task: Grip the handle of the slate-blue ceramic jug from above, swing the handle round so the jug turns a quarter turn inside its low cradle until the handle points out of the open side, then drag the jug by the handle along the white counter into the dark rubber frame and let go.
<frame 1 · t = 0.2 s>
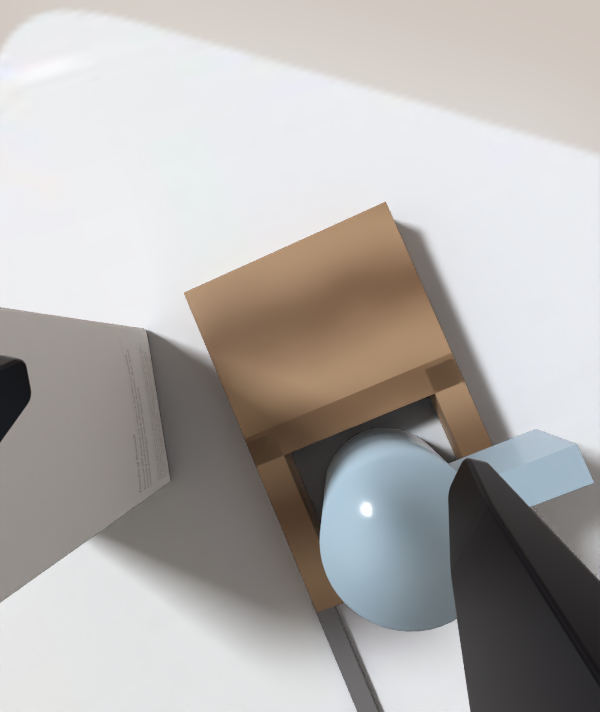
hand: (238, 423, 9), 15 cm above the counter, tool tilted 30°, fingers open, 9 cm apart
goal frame: (454, 648, 23), on the counter
supplement box: (87, 414, 25), on the counter
jug: (438, 494, 20), in the cradle
cradle: (386, 488, 23), on the counter
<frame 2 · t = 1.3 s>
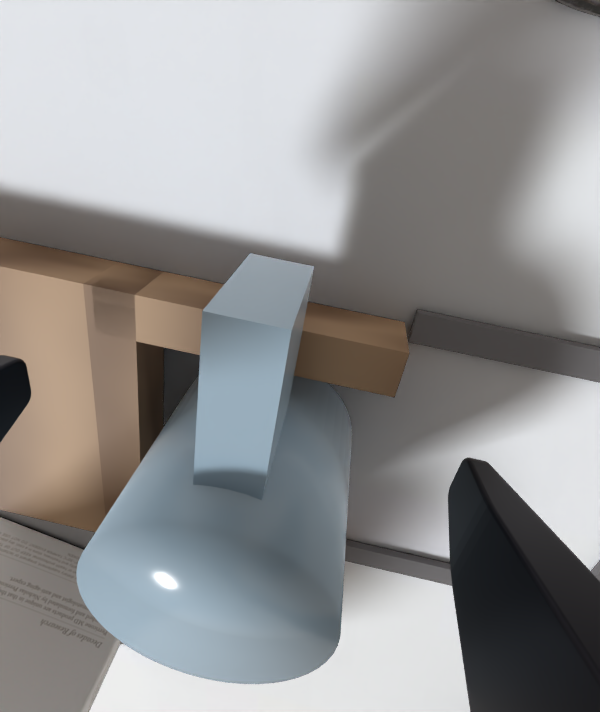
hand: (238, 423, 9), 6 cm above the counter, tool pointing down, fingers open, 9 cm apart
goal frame: (502, 483, 16), on the counter
supplement box: (60, 580, 24), on the counter
jug: (249, 450, 13), in the cradle
cradle: (265, 430, 17), on the counter
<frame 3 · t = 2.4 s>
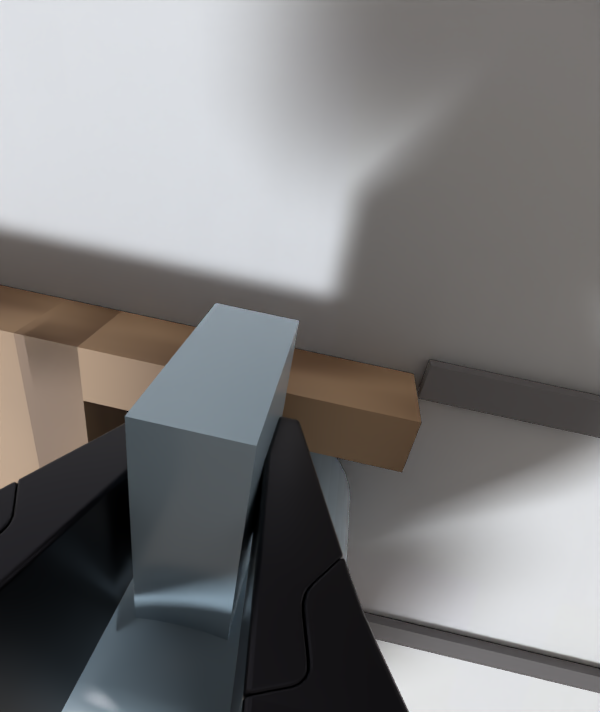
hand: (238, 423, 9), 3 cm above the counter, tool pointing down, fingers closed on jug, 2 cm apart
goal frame: (528, 554, 14), on the counter
jug: (221, 540, 10), in the cradle, touching gripper
cradle: (248, 490, 14), on the counter
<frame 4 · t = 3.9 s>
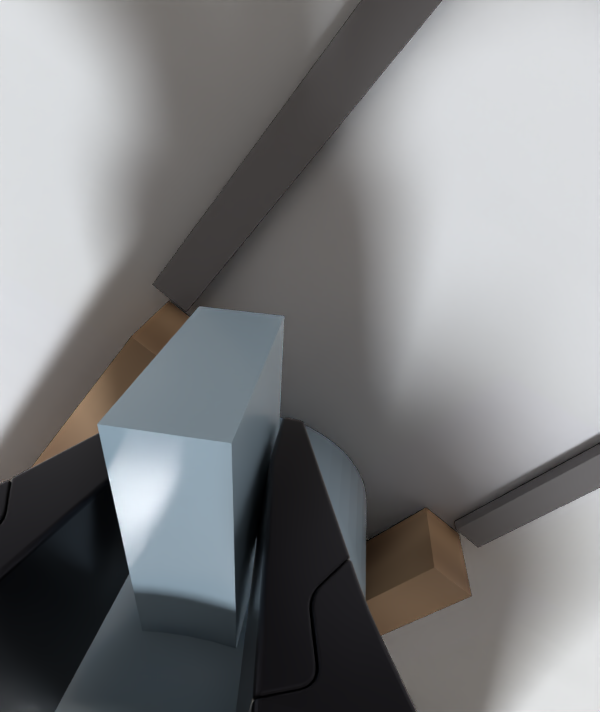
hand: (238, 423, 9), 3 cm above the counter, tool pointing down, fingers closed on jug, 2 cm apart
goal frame: (488, 305, 10), on the counter
jug: (231, 547, 10), resting in cradle, touching gripper
cradle: (248, 492, 14), on the counter
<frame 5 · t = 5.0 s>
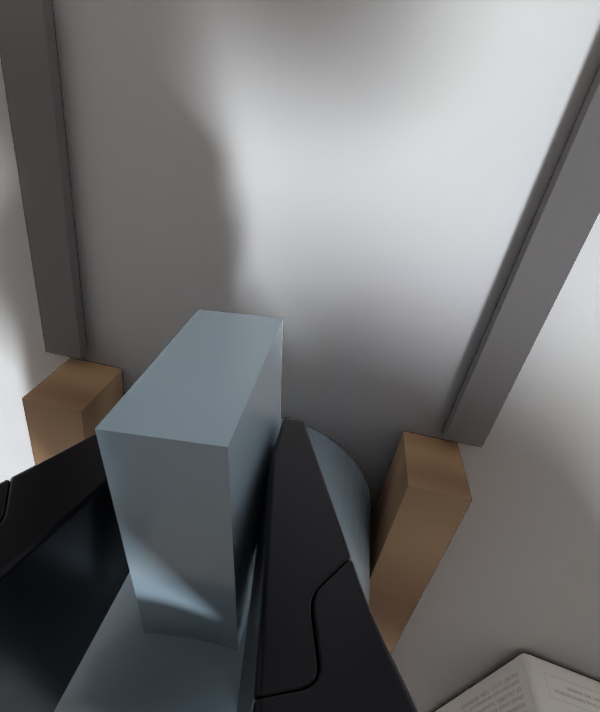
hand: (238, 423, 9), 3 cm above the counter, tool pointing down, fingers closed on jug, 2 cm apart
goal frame: (288, 206, 9), on the counter
jug: (234, 549, 10), in the cradle, touching gripper
cradle: (247, 493, 14), on the counter
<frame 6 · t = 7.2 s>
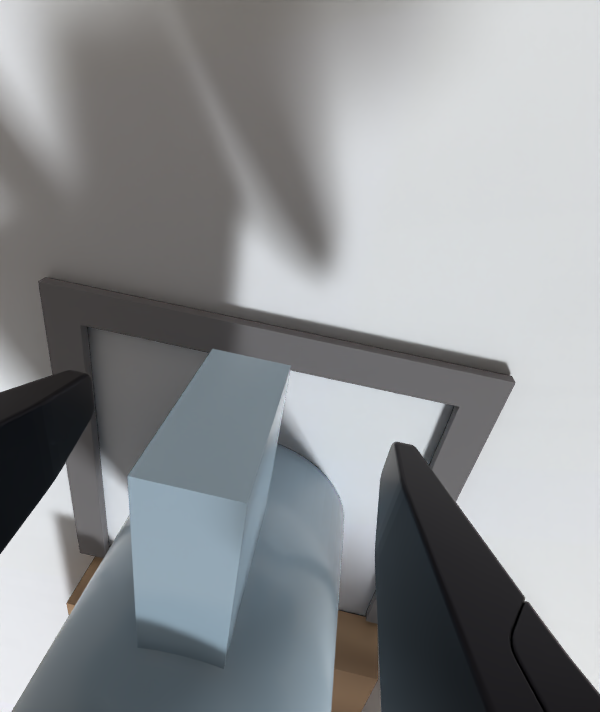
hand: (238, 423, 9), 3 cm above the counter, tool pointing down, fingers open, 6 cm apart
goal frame: (249, 490, 14), on the counter
jug: (218, 566, 11), resting in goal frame
cradle: (228, 637, 19), on the counter
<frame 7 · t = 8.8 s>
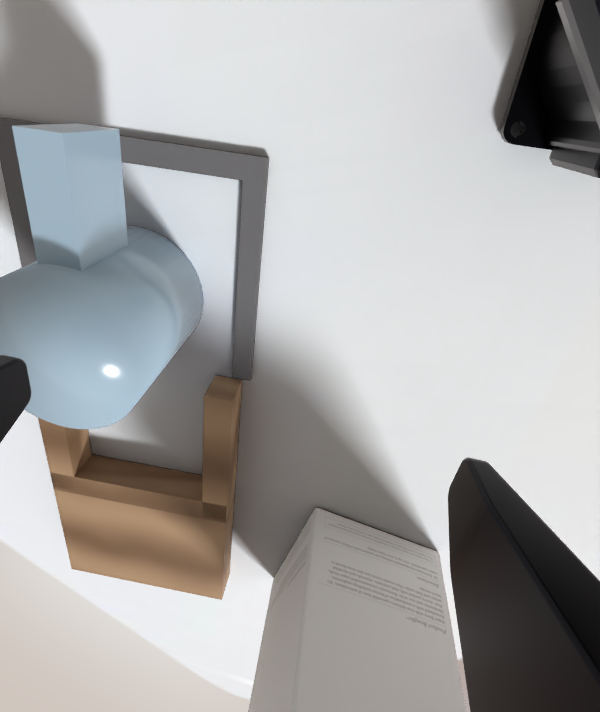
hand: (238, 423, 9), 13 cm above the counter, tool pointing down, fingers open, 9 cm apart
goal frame: (139, 271, 22), on the counter
supplement box: (351, 563, 30), on the counter
jug: (99, 273, 18), resting in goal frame
cradle: (148, 416, 26), on the counter
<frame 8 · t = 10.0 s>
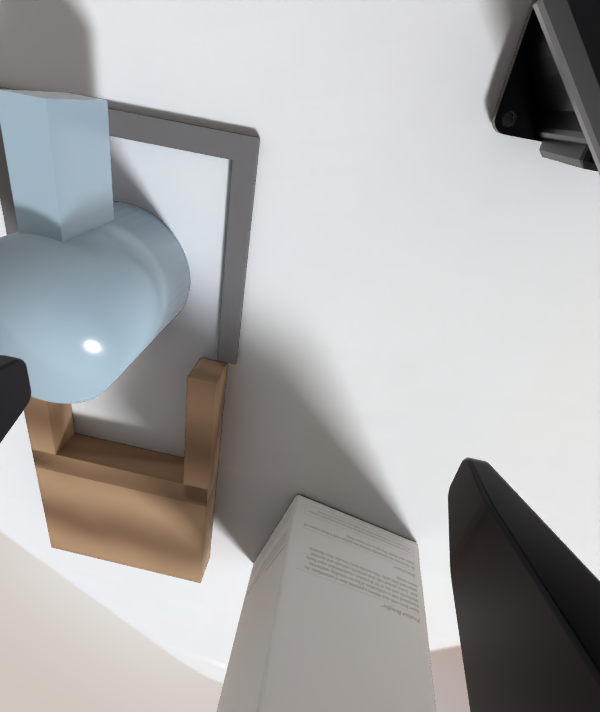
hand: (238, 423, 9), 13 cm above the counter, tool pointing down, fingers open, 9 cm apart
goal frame: (126, 249, 21), on the counter
supplement box: (331, 552, 31), on the counter
jug: (84, 247, 18), resting in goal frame
cradle: (132, 396, 26), on the counter
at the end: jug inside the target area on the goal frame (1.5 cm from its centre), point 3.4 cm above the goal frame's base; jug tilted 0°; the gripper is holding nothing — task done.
